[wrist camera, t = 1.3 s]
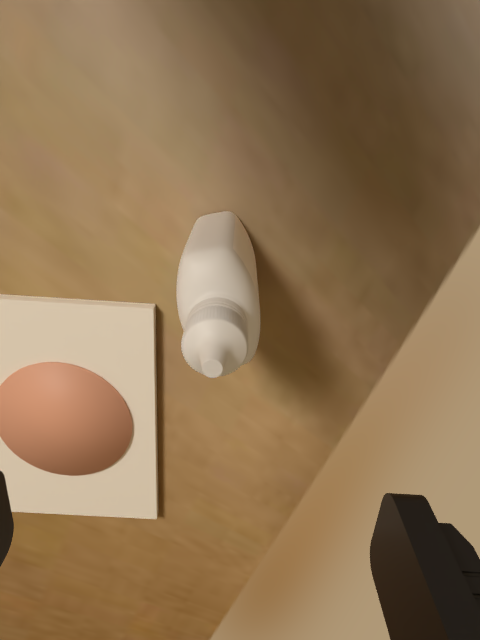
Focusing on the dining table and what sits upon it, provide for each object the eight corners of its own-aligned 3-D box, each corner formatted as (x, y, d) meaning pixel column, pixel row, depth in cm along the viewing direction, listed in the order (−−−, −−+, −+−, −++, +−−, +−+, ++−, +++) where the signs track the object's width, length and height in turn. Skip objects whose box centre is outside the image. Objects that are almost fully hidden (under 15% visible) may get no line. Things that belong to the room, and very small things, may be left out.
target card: (-49, 291, 27) (-58, 296, 26) (155, 304, 27) (152, 309, 26) (-3, 503, 34) (-9, 512, 33) (158, 511, 34) (156, 521, 33)
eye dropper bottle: (278, 224, 25) (305, 313, 14) (246, 313, 27) (248, 449, 16) (201, 200, 24) (168, 272, 13) (175, 292, 27) (129, 418, 16)
